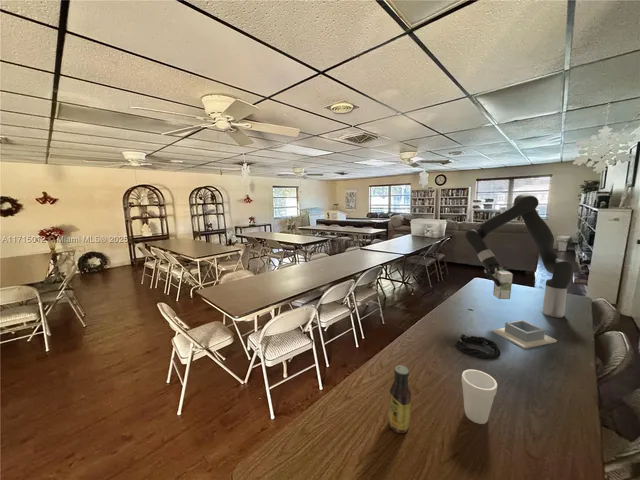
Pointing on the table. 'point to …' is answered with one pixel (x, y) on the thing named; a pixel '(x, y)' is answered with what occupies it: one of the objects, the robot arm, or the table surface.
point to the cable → (479, 341)
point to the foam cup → (478, 395)
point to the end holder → (524, 334)
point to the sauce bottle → (400, 401)
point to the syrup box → (503, 285)
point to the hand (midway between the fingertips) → (505, 285)
